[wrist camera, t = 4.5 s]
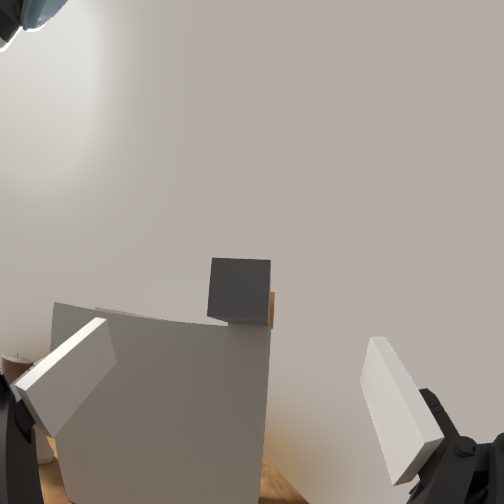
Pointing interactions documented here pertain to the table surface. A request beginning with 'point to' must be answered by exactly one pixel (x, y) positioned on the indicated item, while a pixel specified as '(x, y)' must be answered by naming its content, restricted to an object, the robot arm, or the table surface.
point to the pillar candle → (14, 366)
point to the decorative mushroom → (42, 447)
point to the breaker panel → (167, 413)
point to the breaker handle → (241, 291)
